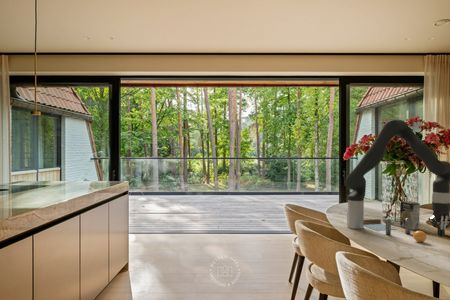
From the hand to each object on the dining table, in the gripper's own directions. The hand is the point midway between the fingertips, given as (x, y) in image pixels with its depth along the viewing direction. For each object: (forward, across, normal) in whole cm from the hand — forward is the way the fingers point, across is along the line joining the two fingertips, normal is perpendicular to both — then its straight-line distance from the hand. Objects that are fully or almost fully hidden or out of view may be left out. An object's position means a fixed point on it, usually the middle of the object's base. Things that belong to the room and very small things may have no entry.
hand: (441, 236), depth 160 cm
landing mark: (+6, 0, -46) cm, 47 cm away
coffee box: (+6, -19, -42) cm, 47 cm away
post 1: (+6, +7, -29) cm, 31 cm away
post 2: (+6, -6, -29) cm, 31 cm away
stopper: (+6, 0, -57) cm, 58 cm away
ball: (+3, 0, -13) cm, 14 cm away
